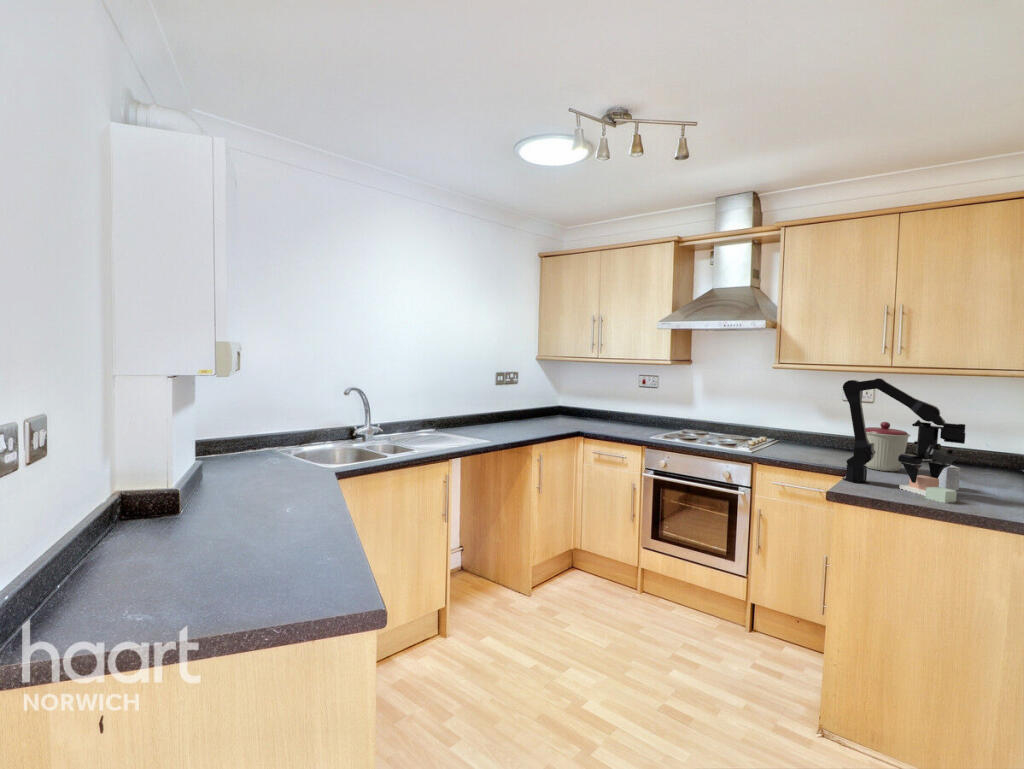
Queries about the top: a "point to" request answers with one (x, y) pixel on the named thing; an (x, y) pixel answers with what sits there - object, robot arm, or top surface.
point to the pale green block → (941, 494)
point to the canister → (886, 447)
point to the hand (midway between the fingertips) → (923, 482)
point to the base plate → (912, 489)
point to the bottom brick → (924, 482)
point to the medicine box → (950, 478)
